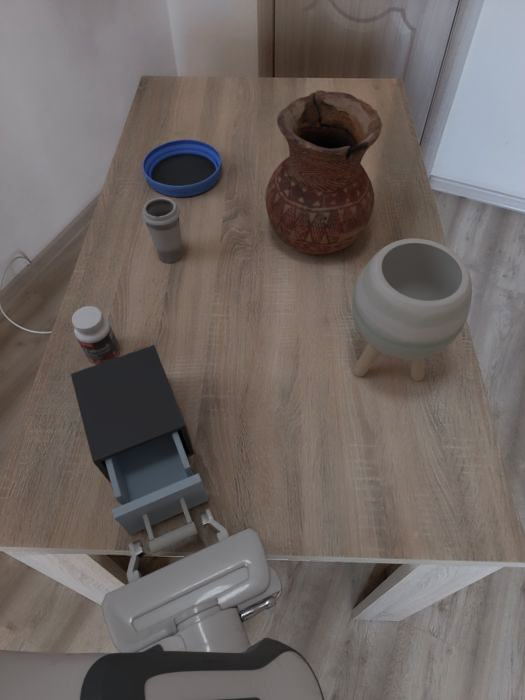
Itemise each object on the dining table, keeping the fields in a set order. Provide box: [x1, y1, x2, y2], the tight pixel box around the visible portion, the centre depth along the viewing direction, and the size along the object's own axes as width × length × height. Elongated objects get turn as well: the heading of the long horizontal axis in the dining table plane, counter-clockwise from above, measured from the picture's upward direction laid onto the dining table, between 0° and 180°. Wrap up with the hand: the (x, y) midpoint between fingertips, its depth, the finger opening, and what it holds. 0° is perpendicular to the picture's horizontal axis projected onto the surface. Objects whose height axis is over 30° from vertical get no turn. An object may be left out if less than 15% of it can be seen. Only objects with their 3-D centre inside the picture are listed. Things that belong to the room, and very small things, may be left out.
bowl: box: [142, 138, 223, 198], centre depth 110 cm, size 18×18×4 cm
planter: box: [351, 238, 473, 382], centre depth 72 cm, size 16×16×22 cm
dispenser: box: [70, 344, 196, 484], centre depth 71 cm, size 15×13×10 cm
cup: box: [141, 196, 183, 264], centre depth 91 cm, size 7×7×12 cm
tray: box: [105, 431, 209, 555], centre depth 65 cm, size 18×11×8 cm, turn 24°
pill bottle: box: [71, 305, 120, 365], centre depth 79 cm, size 6×6×10 cm
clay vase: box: [265, 90, 383, 255], centre depth 90 cm, size 22×21×25 cm
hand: (170, 526), depth 62 cm, fingers open, 8 cm apart
